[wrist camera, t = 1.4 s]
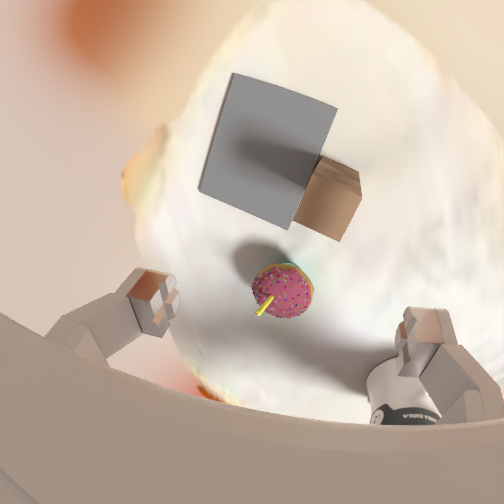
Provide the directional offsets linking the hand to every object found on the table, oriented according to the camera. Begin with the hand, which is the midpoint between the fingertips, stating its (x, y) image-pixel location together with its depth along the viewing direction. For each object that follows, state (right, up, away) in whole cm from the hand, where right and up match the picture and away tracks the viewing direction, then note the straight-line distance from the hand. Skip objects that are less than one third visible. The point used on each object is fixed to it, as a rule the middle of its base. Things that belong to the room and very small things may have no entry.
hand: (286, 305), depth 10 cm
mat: (0, +15, +29) cm, 32 cm away
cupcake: (+5, -2, +36) cm, 36 cm away
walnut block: (+9, +11, +27) cm, 31 cm away
